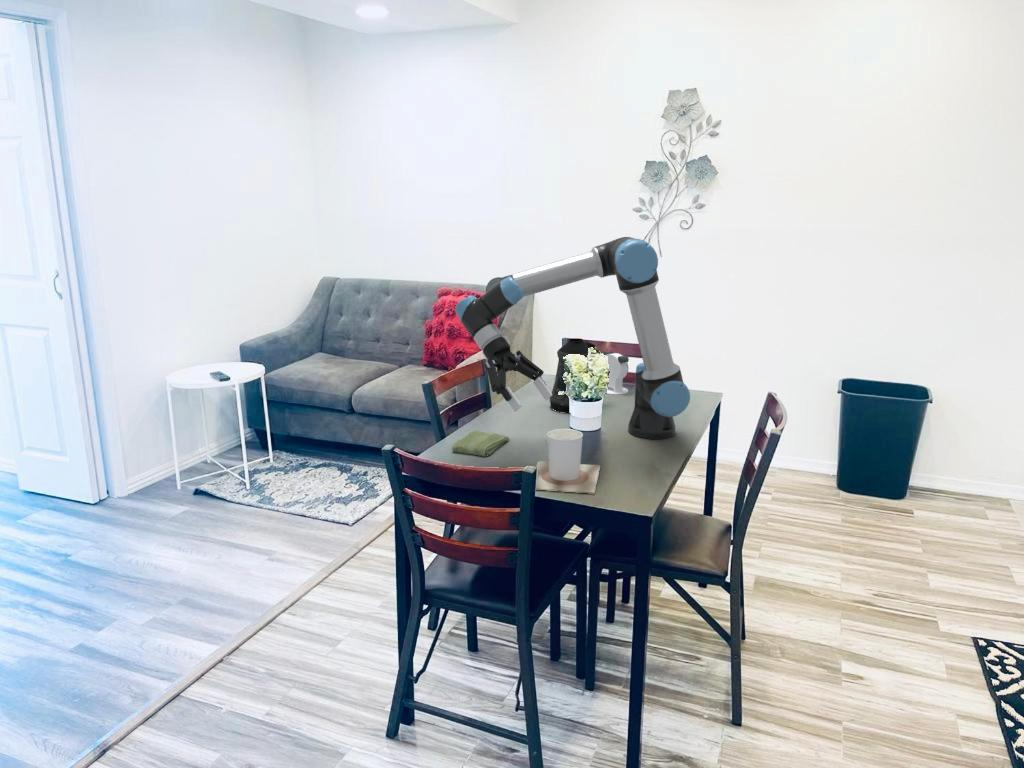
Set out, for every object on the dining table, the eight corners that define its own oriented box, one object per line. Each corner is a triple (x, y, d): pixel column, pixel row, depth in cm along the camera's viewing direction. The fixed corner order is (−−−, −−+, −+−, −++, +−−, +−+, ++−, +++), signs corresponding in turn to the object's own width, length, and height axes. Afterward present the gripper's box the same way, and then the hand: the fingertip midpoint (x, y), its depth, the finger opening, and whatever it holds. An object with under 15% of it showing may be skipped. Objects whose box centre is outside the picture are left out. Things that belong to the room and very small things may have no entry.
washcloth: (511, 441, 240) (511, 431, 239) (487, 459, 224) (487, 449, 223) (474, 436, 245) (473, 426, 244) (448, 453, 229) (448, 443, 228)
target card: (600, 467, 216) (600, 465, 216) (594, 494, 197) (594, 492, 197) (538, 463, 219) (538, 461, 219) (526, 489, 200) (526, 487, 200)
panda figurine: (635, 392, 294) (636, 354, 290) (611, 396, 288) (613, 358, 284) (616, 385, 304) (617, 349, 300) (593, 389, 298) (594, 352, 294)
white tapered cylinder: (586, 472, 210) (587, 431, 207) (575, 484, 202) (576, 441, 199) (553, 467, 214) (554, 426, 211) (541, 479, 206) (541, 437, 203)
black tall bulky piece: (540, 409, 272) (541, 341, 266) (567, 397, 288) (568, 332, 281) (581, 416, 263) (582, 346, 257) (606, 403, 279) (608, 337, 273)
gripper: (514, 344, 227) (554, 400, 221) (455, 359, 209) (497, 421, 203) (527, 328, 222) (568, 386, 217) (468, 343, 204) (511, 405, 198)
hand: (534, 403), depth 210 cm, fingers open, 13 cm apart
